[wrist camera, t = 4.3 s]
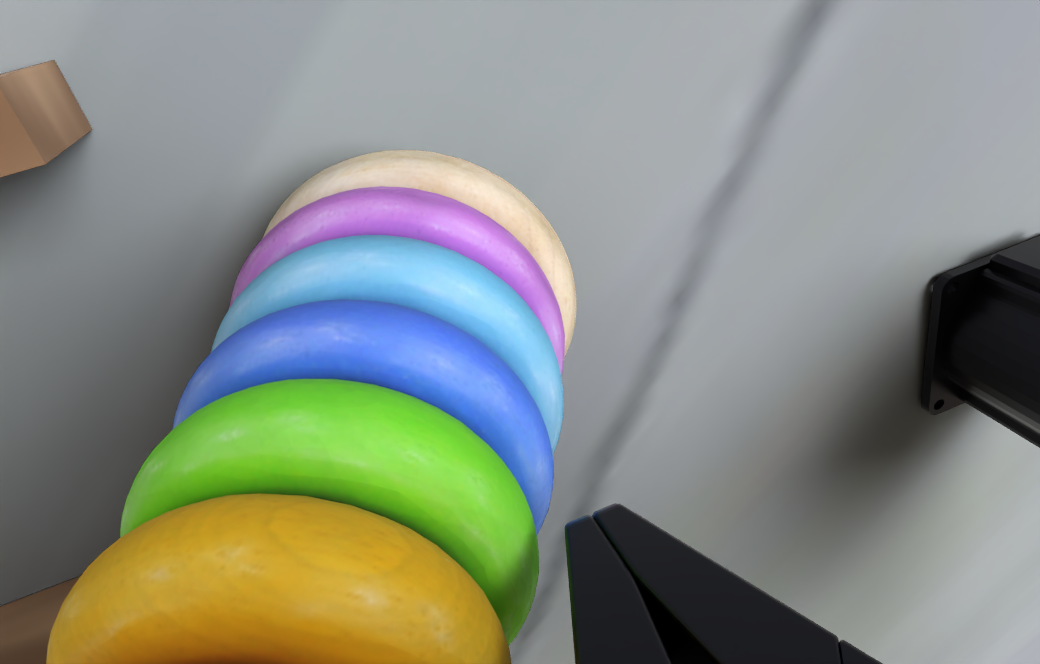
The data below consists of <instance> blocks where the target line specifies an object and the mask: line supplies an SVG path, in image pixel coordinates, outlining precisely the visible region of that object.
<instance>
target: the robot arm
mask: <svg viewBox="0 0 1040 664" xmlns="http://www.w3.org/2000/svg"><path fill="white" fill-rule="evenodd" d="M963 403H967V404H969V405H970V406H972V407H974V408H975V409H977V410H979V411H980V412H982V413H984V414H985V415H987V416H988V417H990V418H992V419H993V420H995V421H997V422H998V423H1000V424H1002V425H1003V426H1005V427H1007V428H1008V429H1010V430H1011V431H1013V432H1015V433H1016V434H1018V435H1020V436H1021V437H1023V438H1025V439H1026V440H1028V441H1029V442H1031V443H1033V444H1034V445H1036V446H1038V447H1039V448H1040V236H1038V237H1035V238H1033V239H1030V240H1027V241H1025V242H1022V243H1020V244H1017V245H1015V246H1012V247H1010V248H1007V249H1004V250H1002V251H999V252H997V253H994V254H992V255H989V256H986V257H984V258H981V259H979V260H976V261H974V262H971V263H968V264H966V265H963V266H961V267H958V268H956V269H953V270H950V271H948V272H945V273H944V274H942V275H940V277H939V278H938V279H937V280H936V282H935V283H934V286H933V292H932V302H931V312H930V321H929V331H928V341H927V350H926V360H925V370H924V380H923V389H922V399H921V407H922V408H923V409H924V410H925V411H927V412H928V413H930V414H932V415H936V414H939V413H942V412H944V411H946V410H949V409H951V408H953V407H956V406H958V405H960V404H963ZM565 540H566V553H567V565H568V578H569V590H570V602H571V615H572V627H573V640H574V652H575V664H882V663H881V662H879V661H877V660H875V659H874V658H872V657H870V656H869V655H867V654H865V653H864V652H862V651H861V650H859V649H857V648H856V647H854V646H853V645H851V644H849V643H848V642H846V641H844V640H841V641H840V642H839V641H838V637H837V636H836V635H834V634H832V633H831V632H829V631H828V630H826V629H824V628H823V627H821V626H819V625H818V624H816V623H814V622H813V621H811V620H810V619H808V618H806V617H805V616H803V615H801V614H800V613H798V612H796V611H795V610H793V609H791V608H790V607H788V606H787V605H785V604H783V603H782V602H780V601H778V600H777V599H775V598H773V597H772V596H770V595H769V594H767V593H765V592H764V591H762V590H760V589H759V588H757V587H755V586H754V585H752V584H751V583H749V582H747V581H746V580H744V579H742V578H741V577H739V576H737V575H736V574H734V573H732V572H731V571H729V570H728V569H726V568H724V567H723V566H721V565H719V564H718V563H716V562H714V561H713V560H711V559H710V558H708V557H706V556H705V555H703V554H701V553H700V552H698V551H696V550H695V549H693V548H691V547H690V546H688V545H687V544H685V543H683V542H682V541H680V540H678V539H677V538H675V537H673V536H672V535H670V534H669V533H667V532H665V531H664V530H662V529H660V528H659V527H657V526H655V525H654V524H652V523H651V522H649V521H647V520H646V519H644V518H642V517H641V516H639V515H637V514H636V513H634V512H632V511H631V510H629V509H628V508H626V507H624V506H623V505H621V504H612V505H610V506H608V507H605V508H603V509H600V510H598V511H596V512H594V513H593V515H592V516H591V515H586V516H584V517H581V518H579V519H576V520H574V521H572V522H569V523H567V524H566V525H565Z"/></svg>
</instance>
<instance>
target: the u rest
mask: <svg viewBox="0 0 1040 664" xmlns="http://www.w3.org/2000/svg"><path fill="white" fill-rule="evenodd" d="M91 130H92V128H91V126H90V124H89V122H88V120H87V118H86V117H85V115H84V113H83V111H82V109H81V107H80V106H79V104H78V102H77V100H76V98H75V97H74V95H73V93H72V91H71V89H70V87H69V86H68V84H67V82H66V80H65V78H64V76H63V75H62V73H61V71H60V69H59V67H58V66H57V64H56V62H55V60H52V61H48V62H45V63H41V64H37V65H33V66H30V67H26V68H22V69H18V70H15V71H11V72H7V73H3V74H0V177H3V176H7V175H10V174H14V173H17V172H21V171H24V170H28V169H31V168H35V167H38V166H41V165H45V164H47V163H48V162H49V161H51V160H52V159H53V158H55V157H56V156H57V155H59V154H60V153H61V152H63V151H64V150H65V149H67V148H68V147H70V146H71V145H72V144H74V143H75V142H76V141H78V140H79V139H80V138H82V137H83V136H84V135H86V134H87V133H88V132H90V131H91ZM80 577H81V576H79V577H77V578H74V579H71V580H69V581H66V582H63V583H61V584H58V585H56V586H53V587H50V588H48V589H45V590H43V591H40V592H37V593H35V594H32V595H29V596H27V597H24V598H22V599H19V600H16V601H14V602H11V603H8V604H6V605H3V606H1V607H0V664H46V660H47V649H48V643H49V638H50V633H51V630H52V627H53V625H54V623H55V620H56V618H57V615H58V613H59V611H60V608H61V606H62V604H63V602H64V600H65V599H66V597H67V596H68V594H69V592H70V591H71V589H72V588H73V586H74V585H75V583H76V582H77V581H78V579H79V578H80Z"/></svg>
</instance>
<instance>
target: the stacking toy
mask: <svg viewBox="0 0 1040 664" xmlns="http://www.w3.org/2000/svg"><path fill="white" fill-rule="evenodd" d="M575 319H576V292H575V284H574V278H573V273H572V269H571V266H570V263H569V260H568V258H567V255H566V252H565V250H564V247H563V246H562V244H561V242H560V240H559V238H558V236H557V234H556V233H555V231H554V230H553V228H552V226H551V225H550V223H549V222H548V221H547V219H546V218H545V217H544V216H543V214H542V213H541V212H540V211H539V210H538V209H537V208H536V207H535V205H534V204H533V203H532V202H531V201H530V200H529V199H528V198H527V197H526V196H525V195H524V194H523V193H521V192H520V191H519V190H517V189H516V188H515V187H514V186H512V185H511V184H510V183H508V182H507V181H505V180H504V179H502V178H501V177H499V176H497V175H495V174H494V173H492V172H490V171H488V170H487V169H484V168H482V167H480V166H477V165H475V164H473V163H470V162H468V161H466V160H463V159H459V158H456V157H452V156H448V155H444V154H439V153H433V152H427V151H420V150H388V151H381V152H374V153H369V154H365V155H361V156H357V157H353V158H350V159H348V160H345V161H342V162H340V163H337V164H335V165H333V166H330V167H328V168H326V169H324V170H323V171H321V172H319V173H317V174H316V175H314V176H313V177H311V178H310V179H308V180H307V181H305V182H304V183H303V184H302V185H301V186H299V187H298V188H297V189H296V190H295V191H294V192H293V193H292V194H291V195H290V196H289V197H288V198H287V199H286V200H285V201H284V202H283V204H282V205H281V206H280V208H279V209H278V211H277V212H276V214H275V215H274V217H273V218H272V220H271V221H270V223H269V225H268V227H267V229H266V231H265V233H264V236H263V238H262V240H261V241H260V242H259V243H258V244H257V245H256V247H255V248H254V249H253V251H252V252H251V253H250V255H249V256H248V258H247V259H246V261H245V262H244V264H243V266H242V268H241V270H240V272H239V274H238V277H237V279H236V282H235V285H234V289H233V292H232V296H231V300H230V305H229V310H228V312H227V314H226V315H225V317H224V319H223V321H222V323H221V325H220V327H219V329H218V331H217V334H216V337H215V340H214V343H213V347H212V351H211V353H210V354H209V355H208V357H207V358H206V359H205V360H204V361H203V362H202V363H201V364H200V365H199V367H198V368H197V370H196V371H195V373H194V375H193V376H192V378H191V379H190V381H189V382H188V384H187V386H186V388H185V390H184V392H183V395H182V397H181V399H180V401H179V404H178V408H177V411H176V414H175V418H174V423H173V430H172V431H171V432H170V433H169V434H168V435H167V436H166V437H165V438H164V439H163V440H162V441H161V442H160V443H159V444H158V445H157V446H156V447H155V448H154V449H153V451H152V452H151V453H150V455H149V456H148V458H147V459H146V460H145V462H144V463H143V465H142V467H141V468H140V470H139V472H138V474H137V476H136V477H135V480H134V482H133V484H132V487H131V489H130V491H129V494H128V496H127V499H126V503H125V506H124V510H123V514H122V519H121V528H120V538H119V539H118V540H117V541H116V542H114V543H113V544H112V545H111V546H109V547H108V548H107V549H106V550H104V551H103V552H102V553H101V554H100V555H99V556H98V557H97V558H96V559H95V560H94V561H93V562H92V563H91V564H90V565H89V566H88V567H87V569H86V570H85V571H84V573H83V574H82V575H81V577H80V578H79V579H78V581H77V582H76V583H75V585H74V586H73V588H72V589H71V591H70V592H69V594H68V596H67V597H66V599H65V600H64V602H63V604H62V606H61V608H60V611H59V613H58V615H57V618H56V620H55V623H54V625H53V627H52V630H51V633H50V638H49V643H48V649H47V660H46V664H511V658H510V650H509V645H510V643H511V642H512V641H513V640H514V638H515V637H516V636H517V634H518V632H519V630H520V629H521V627H522V625H523V623H524V622H525V620H526V617H527V615H528V613H529V611H530V608H531V605H532V602H533V599H534V596H535V591H536V586H537V581H538V575H539V551H538V543H537V534H538V532H539V530H540V529H541V526H542V524H543V522H544V519H545V517H546V514H547V512H548V509H549V504H550V499H551V494H552V488H553V478H554V464H553V453H554V450H555V448H556V445H557V443H558V440H559V436H560V431H561V426H562V420H563V410H564V403H563V386H562V373H563V363H564V358H565V356H566V353H567V351H568V348H569V346H570V343H571V339H572V335H573V331H574V326H575Z"/></svg>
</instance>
